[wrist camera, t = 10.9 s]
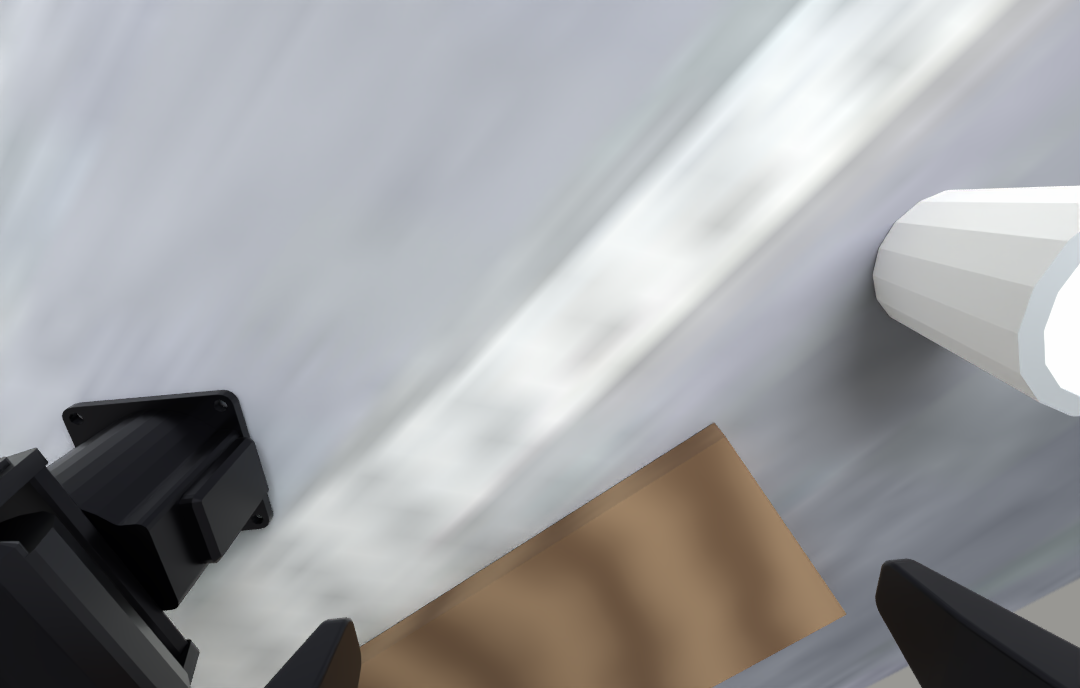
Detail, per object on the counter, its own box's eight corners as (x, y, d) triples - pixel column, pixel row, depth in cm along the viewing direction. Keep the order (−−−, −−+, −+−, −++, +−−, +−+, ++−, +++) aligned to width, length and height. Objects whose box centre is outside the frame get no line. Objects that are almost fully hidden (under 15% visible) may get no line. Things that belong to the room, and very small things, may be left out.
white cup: (890, 369, 22) (1051, 458, 16) (832, 238, 20) (993, 278, 14) (1041, 282, 21) (1280, 338, 15) (999, 134, 19) (1258, 123, 13)
